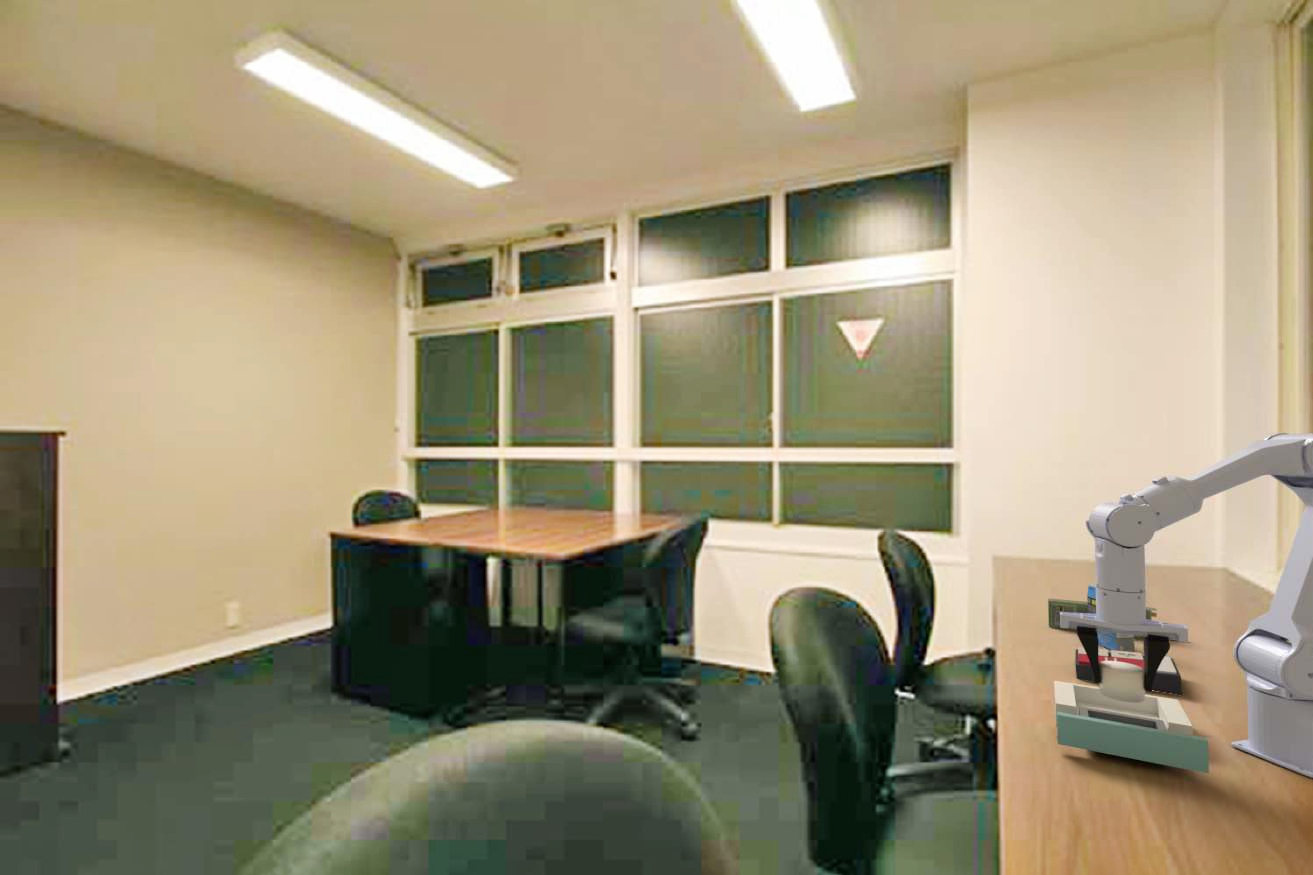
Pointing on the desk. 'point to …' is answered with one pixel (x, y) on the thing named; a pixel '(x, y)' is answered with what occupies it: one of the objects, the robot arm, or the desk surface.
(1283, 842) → the desk surface
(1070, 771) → the desk surface
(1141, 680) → the white dome-topped cylinder
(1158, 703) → the dock
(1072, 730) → the tray
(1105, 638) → the label tape box
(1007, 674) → the desk surface
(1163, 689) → the calculator
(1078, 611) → the handheld radio
